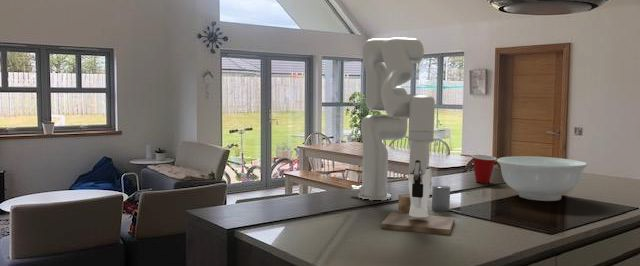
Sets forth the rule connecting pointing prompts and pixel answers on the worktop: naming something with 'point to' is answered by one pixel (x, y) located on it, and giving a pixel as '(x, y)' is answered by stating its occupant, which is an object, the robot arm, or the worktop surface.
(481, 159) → the plastic cup
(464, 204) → the worktop surface
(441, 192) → the cylinder
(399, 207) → the teak block
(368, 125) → the robot arm
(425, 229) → the walnut board
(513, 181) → the bowl
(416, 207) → the beer glass
